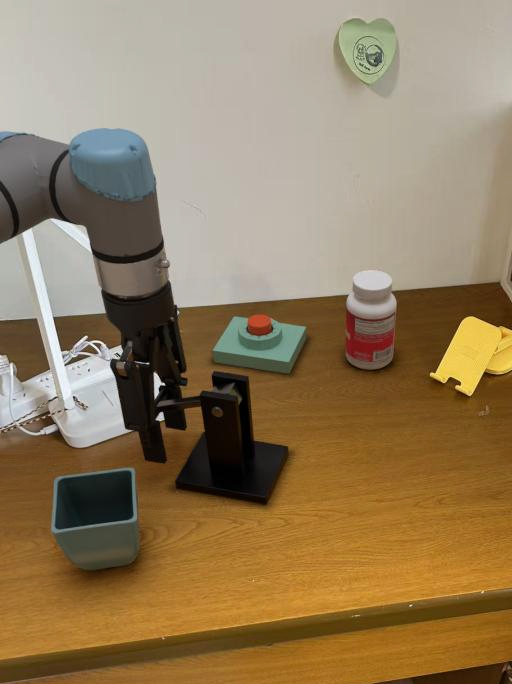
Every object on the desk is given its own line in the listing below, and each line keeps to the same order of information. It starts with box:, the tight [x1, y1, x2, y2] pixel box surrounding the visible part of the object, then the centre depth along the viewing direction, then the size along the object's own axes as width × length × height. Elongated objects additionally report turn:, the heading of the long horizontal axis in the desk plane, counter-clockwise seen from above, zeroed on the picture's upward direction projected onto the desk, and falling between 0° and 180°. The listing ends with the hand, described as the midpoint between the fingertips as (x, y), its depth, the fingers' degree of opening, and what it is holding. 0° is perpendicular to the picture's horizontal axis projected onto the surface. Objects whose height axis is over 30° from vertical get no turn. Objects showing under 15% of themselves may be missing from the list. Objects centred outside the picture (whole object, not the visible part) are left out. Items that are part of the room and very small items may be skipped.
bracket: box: [174, 370, 290, 505], centre depth 96 cm, size 12×10×14 cm
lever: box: [155, 383, 242, 420], centre depth 94 cm, size 12×6×2 cm, turn 77°
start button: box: [247, 314, 272, 336], centre depth 118 cm, size 4×4×2 cm
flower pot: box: [50, 467, 141, 571], centre depth 87 cm, size 9×9×9 cm
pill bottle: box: [344, 269, 398, 371], centre depth 115 cm, size 8×8×14 cm
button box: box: [212, 316, 307, 375], centre depth 119 cm, size 12×10×4 cm
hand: (166, 443), depth 100 cm, fingers closed on lever, 6 cm apart
